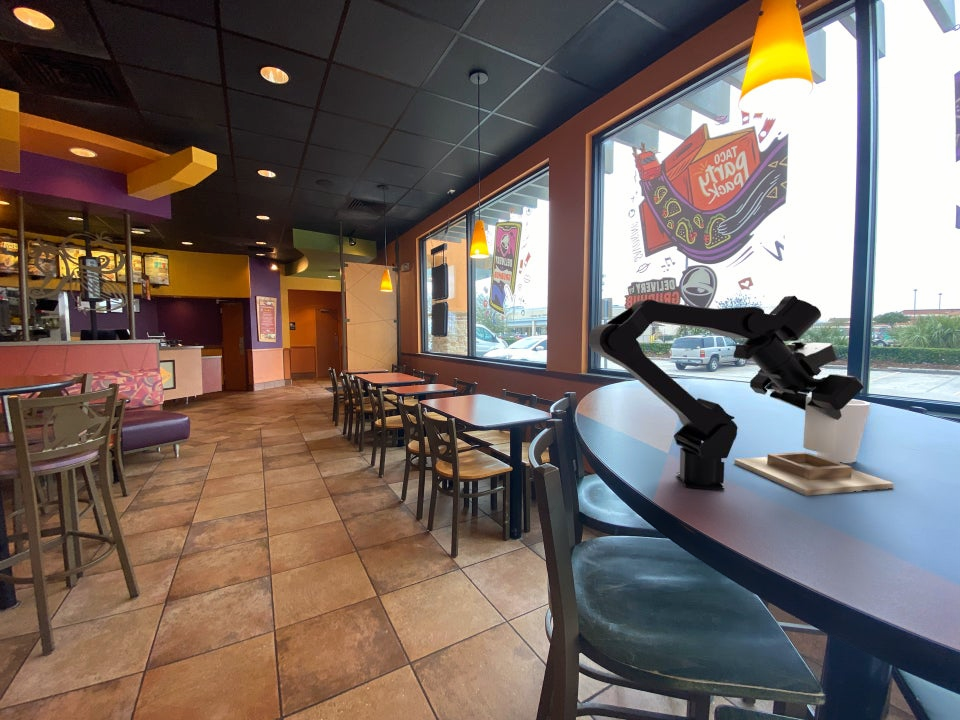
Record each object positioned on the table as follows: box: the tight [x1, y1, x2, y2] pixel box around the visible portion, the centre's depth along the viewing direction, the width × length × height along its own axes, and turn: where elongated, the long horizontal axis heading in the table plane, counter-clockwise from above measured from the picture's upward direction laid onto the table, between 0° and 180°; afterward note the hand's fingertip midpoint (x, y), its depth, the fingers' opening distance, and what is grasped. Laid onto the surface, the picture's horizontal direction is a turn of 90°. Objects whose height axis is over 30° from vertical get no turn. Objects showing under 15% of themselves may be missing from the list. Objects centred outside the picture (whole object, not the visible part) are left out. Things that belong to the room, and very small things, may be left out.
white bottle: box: [802, 395, 836, 453], centre depth 73 cm, size 4×4×11 cm
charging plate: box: [734, 451, 895, 496], centre depth 76 cm, size 18×16×3 cm
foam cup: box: [816, 398, 871, 464], centre depth 85 cm, size 10×9×13 cm
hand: (826, 415), depth 73 cm, fingers closed on white bottle, 4 cm apart
